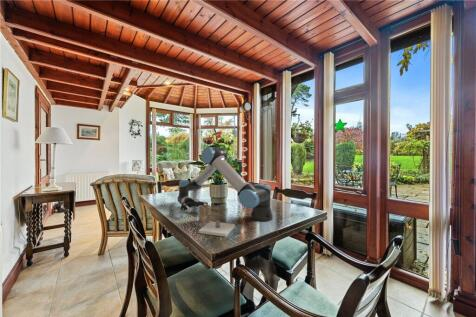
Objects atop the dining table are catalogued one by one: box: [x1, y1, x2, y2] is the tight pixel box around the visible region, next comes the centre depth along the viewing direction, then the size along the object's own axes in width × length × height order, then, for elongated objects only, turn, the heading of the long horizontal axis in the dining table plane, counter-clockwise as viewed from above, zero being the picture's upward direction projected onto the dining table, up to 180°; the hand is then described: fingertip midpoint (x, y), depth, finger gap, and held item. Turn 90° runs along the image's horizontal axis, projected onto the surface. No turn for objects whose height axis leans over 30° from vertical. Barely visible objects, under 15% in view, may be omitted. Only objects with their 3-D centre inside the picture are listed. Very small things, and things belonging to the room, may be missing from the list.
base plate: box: [198, 220, 236, 238], centre depth 123 cm, size 16×16×5 cm
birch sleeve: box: [198, 203, 213, 224], centre depth 137 cm, size 6×6×10 cm
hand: (199, 208), depth 145 cm, fingers open, 13 cm apart
